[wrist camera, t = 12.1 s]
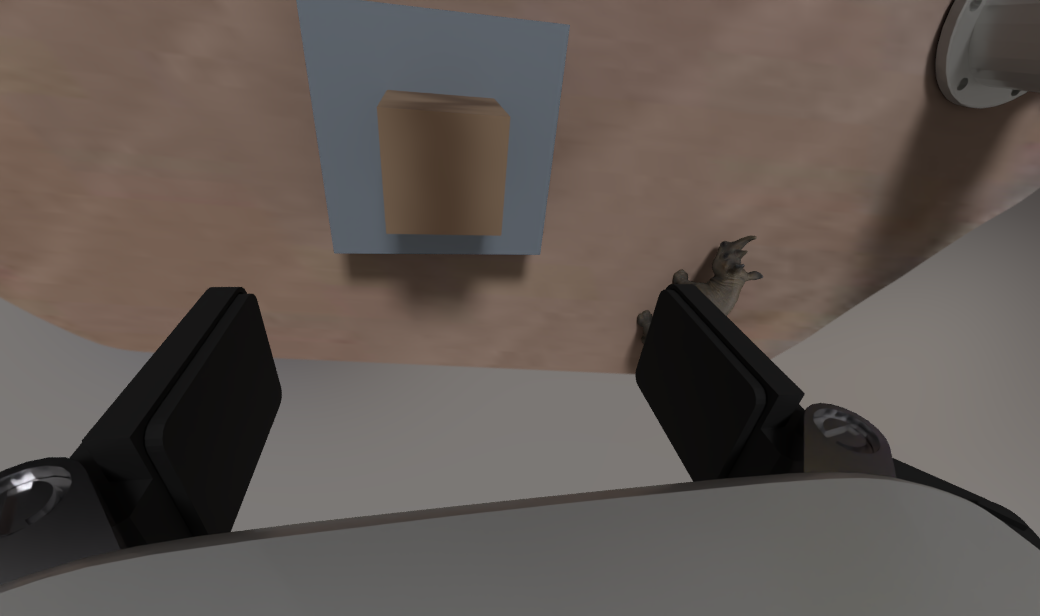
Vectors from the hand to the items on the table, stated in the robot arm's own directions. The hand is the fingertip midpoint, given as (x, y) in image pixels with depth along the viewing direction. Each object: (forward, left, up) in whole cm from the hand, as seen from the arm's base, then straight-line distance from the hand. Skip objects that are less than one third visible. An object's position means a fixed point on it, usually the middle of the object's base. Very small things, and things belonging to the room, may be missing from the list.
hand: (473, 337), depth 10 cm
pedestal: (0, 0, -23) cm, 23 cm away
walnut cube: (0, 0, -19) cm, 19 cm away
